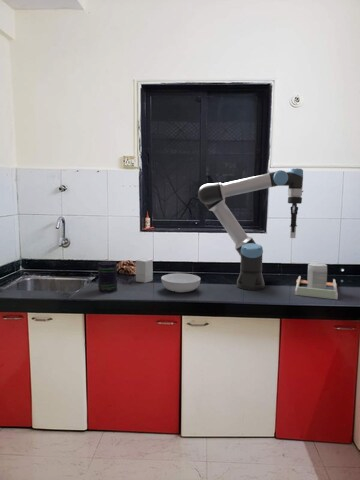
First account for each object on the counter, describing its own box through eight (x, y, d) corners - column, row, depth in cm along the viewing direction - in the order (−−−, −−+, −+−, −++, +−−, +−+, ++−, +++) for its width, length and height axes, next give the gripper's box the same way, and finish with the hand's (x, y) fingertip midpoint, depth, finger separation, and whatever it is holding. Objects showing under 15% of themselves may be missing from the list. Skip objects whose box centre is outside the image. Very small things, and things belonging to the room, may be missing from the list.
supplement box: (153, 280, 208) (153, 259, 206) (145, 283, 202) (145, 261, 200) (143, 278, 212) (143, 258, 210) (135, 281, 206) (135, 260, 204)
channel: (294, 294, 181) (295, 287, 180) (298, 280, 212) (298, 273, 212) (337, 299, 173) (337, 291, 173) (334, 283, 205) (335, 276, 204)
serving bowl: (175, 298, 173) (175, 284, 172) (154, 288, 191) (154, 276, 190) (208, 292, 185) (208, 279, 184) (185, 283, 202) (186, 271, 201)
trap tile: (296, 282, 206) (296, 282, 206) (296, 280, 212) (296, 279, 212) (337, 286, 198) (337, 286, 198) (336, 283, 204) (336, 283, 204)
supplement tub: (329, 292, 186) (331, 265, 184) (319, 295, 181) (320, 267, 179) (313, 288, 194) (315, 261, 192) (302, 290, 189) (304, 263, 187)
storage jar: (110, 287, 193) (110, 260, 191) (121, 290, 186) (120, 262, 184) (94, 290, 186) (94, 262, 184) (104, 294, 179) (104, 265, 177)
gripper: (301, 196, 191) (299, 239, 194) (302, 196, 203) (300, 237, 206) (287, 196, 194) (284, 238, 197) (289, 196, 206) (287, 236, 209)
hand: (292, 237), depth 202 cm, fingers closed
